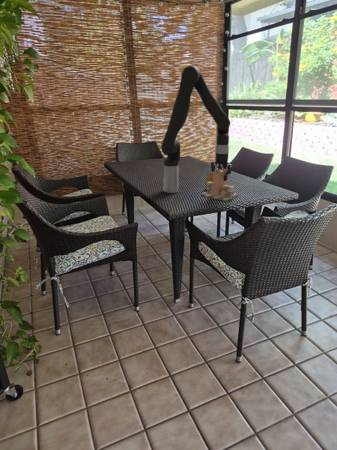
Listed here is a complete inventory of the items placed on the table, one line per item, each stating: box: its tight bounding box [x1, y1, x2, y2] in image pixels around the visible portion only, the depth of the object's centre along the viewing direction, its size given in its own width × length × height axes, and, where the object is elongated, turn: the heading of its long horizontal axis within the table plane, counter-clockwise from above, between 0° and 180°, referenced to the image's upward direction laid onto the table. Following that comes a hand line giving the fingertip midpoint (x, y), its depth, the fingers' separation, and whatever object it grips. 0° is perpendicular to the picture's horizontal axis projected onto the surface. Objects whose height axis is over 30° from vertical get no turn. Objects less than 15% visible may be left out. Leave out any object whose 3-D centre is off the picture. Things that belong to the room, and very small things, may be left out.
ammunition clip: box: [205, 169, 220, 190], centre depth 207 cm, size 11×2×12 cm, turn 120°
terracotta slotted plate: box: [212, 169, 229, 196], centre depth 191 cm, size 3×12×14 cm, turn 137°
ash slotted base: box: [201, 181, 239, 202], centre depth 192 cm, size 18×14×7 cm
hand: (220, 179), depth 190 cm, fingers open, 6 cm apart
